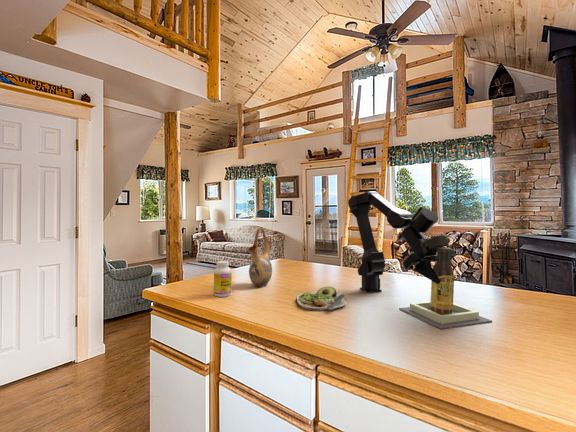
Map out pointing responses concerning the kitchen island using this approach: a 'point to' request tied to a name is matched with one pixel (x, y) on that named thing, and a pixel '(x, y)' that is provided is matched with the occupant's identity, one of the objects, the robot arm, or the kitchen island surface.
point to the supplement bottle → (222, 279)
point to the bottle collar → (462, 314)
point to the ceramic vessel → (260, 262)
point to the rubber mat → (446, 325)
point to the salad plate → (322, 299)
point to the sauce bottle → (443, 283)
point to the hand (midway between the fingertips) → (446, 282)
